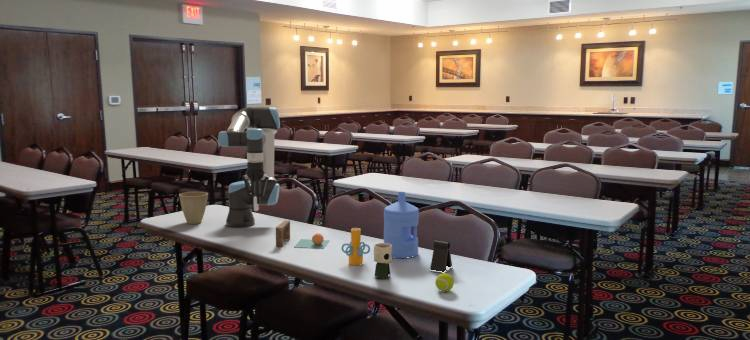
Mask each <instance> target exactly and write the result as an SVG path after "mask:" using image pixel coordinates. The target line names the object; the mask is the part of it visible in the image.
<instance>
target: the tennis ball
mask: <svg viewBox="0 0 750 340" xmlns="http://www.w3.org/2000/svg"><path fill="white" fill-rule="evenodd" d="M434 283H435V286H436V288H437V289H438V290H439V291H440V290H441V291H440V292H443V291H447V292H449V291H452V289H453V287H454V284H455V282H454V278H453V277H452V275H450V274H449V273H447V272H446V273H439V274H438V275H437V276H436V278H435V282H434Z"/></svg>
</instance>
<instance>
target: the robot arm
mask: <svg viewBox="0 0 750 340" xmlns="http://www.w3.org/2000/svg"><path fill="white" fill-rule="evenodd" d="M279 115H280V114H279V110H278V108H277V107H273V106H271V107H270V106H247V107H244V108H241V109H240V110H237V111H236V112H235V113H234V114H233V115H232V117H231V123H230V125H229V127H228V128H227V130H222V131H219V133H218V145H219V146H220V147H224V148H225V147H226V148H237V147H239V148H241V147H242V148H244V147H245V148H246V157H247V158H246V159H247V160H246V161H247V163H246V166H247V169H246V170H247V171H246V173H245V175H242V176H241V179H242V180H240V181H236V182H232V183H230V184H229V185H228V213H227V216H226V220H225V225H226V226H227V227H230V228H247V227H251V225H252V226H254V225H255V224H256V223H255V222H256V221H255V217H254V214H253V212H258V211H259V209H260V206H275V205H277V203H278V200H279V195H280V183H277V182H278V181H277V179H276V178H275V135H276V134H277V133H278V129H280V128H281V122H280V116H279ZM246 129H247V130H246ZM245 130H246V131H245ZM252 206H253V211H252ZM253 224H254V225H253ZM246 226H247V227H246Z"/></svg>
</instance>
